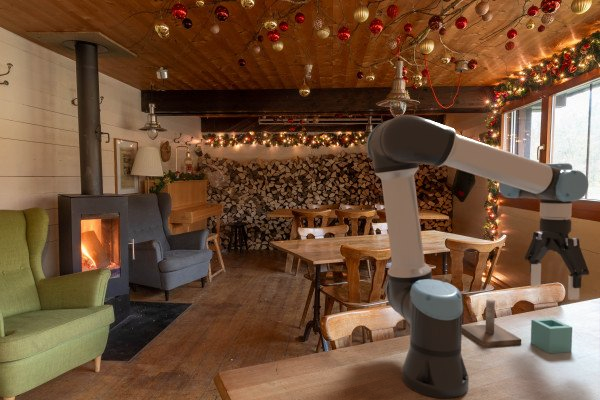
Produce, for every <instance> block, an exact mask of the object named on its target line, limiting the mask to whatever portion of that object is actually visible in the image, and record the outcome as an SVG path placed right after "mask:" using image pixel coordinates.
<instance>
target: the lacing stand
mask: <svg viewBox="0 0 600 400" xmlns="http://www.w3.org/2000/svg"><path fill="white" fill-rule="evenodd" d="M495 307H496V300H494V299H491V298H488V299H487V298H486V300H485V324H476V325H462V333H463V334H464V335H466V336H467V337H469V339H471V340H473V341H474V342H475V343H477V344H479V346H481V347H483V348H489V347H502V346H516V345H517V346H518V345H522V339H521V338H520V337H518V336H517V335H515V334H513V333H511V332H509V331H508V330H506V329H504V328H502V327H501V326H499V325H497V324H495V314H496V313H495V312H496V311H495V310H496V308H495Z"/></svg>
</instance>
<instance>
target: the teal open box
mask: <svg viewBox="0 0 600 400" xmlns="http://www.w3.org/2000/svg"><path fill="white" fill-rule="evenodd" d="M530 321H531V323H530V324H531V325H530V326H531V327H530V343H531V344H532V345H534V346H536V347H537V348H538V349H541V350H542V351H545V352H546V353H548V354H559V353H570V352H572V350H573V349H572V345H573V326H570V325H569V324H567V323H564V322H562V321H560V320H557V319H556V318H553V317H552V318H536V319H531V320H530Z"/></svg>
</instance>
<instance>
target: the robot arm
mask: <svg viewBox="0 0 600 400" xmlns="http://www.w3.org/2000/svg"><path fill="white" fill-rule="evenodd" d="M365 146H366V151H367V155H368V157H369V158H370V160H372V163H373V169H374V170H373V171H374V174H375V175H376V176H377V177H378V178H379V179H380V180H381V188H382V194H383V195H382V196H383V203H384V210H385V218H386V228H387V232H388V233H387V234H388V235H387V236H388V241H389V242H388V243H389V249H390V257H391V266H390V267H389V269H387V282H386V284H385V290H384V291H385V297H386V299H387V302H388V304H389V305H390V307H391V308H392V309H393V310H394V312H396V313H398V315H400V316H401V317H402V318H403V319H404V320H405V321H406V322H408V323H409V325H410V327H409V328H410V330H409V333H410V334H409V335H410V336H409V337H410V338H409V339H410V340H409V342H410V343H409V349H408V352H407V355H406V357H405V359H404V362H403V364H402V370H401V371H402V372H401V373H402V374H401V375H402V381H403V383H404V384H405V385H406V386H407V387H409V388H410V389H411V390H413V391H415V392H417V393H419V394H421V395H425V396H428V397H430V398H431V397H432V398H436V399H437V398H438V399H453V398H458V397H461V396H464V395H465V394H466V393H467V392H468V391H469V381H470V379H469V374H468V371H467V367H466V365H465V362H464V358H463V355H462V335H463V334H462V333H463V332H462V326H463V311H464V305H463V304H464V303H463V297H462V296H463V295H462V292H461V291H460V290H459V288H457V287H456V286H455V285H453V284H451V283H449V282H446V281H445V282H443V281H442V280H439V279H434V278H433V272H432V267H431V266H429V264H427V263H426V262H425V257H424V256H425V255H424V247H423V238H422V230H421V222H420V213H419V204H418V198H417V197H418V196H417V191H416V188H417V187H416V182H415V181H416V180H415V174H416V173H417V171H419V169H420V166H419V165H420V164H422V165H423V164H424V165H427V166H428V165H429V166H432V167H436V168H440V167H442V166H447V167H450V168H452V169H456V170H459V171H462V172H465V173H469V174H472V175H475V176H477V177H481V178H484V179H488V180H490V181H494V182H497V183H498V189H499V192H500V193H501V195H502V197H504V198H506V199H507V198H508V199H512V198H513V199H534V200H539V201H540V202H539V216H540V219H539V231H533V234H532V239H531V242H530V244H529V247H528V248H527V251H526V254H525V255H524V260H526V261H528V262H529V264H530V265H529V267H530V270H529V273H530V286H532V287H533V286H534V287H537V286H538V287H539V286H541V283H542V282H541V281H542V262H541V261H542V259H543V258H544V256H546V254H547V253H548V252H549V251H553V252H557V254H558V255H560V257H561V259H562V260H563V262H564V264H565V266H566V268H567V269H568V271H569V274H568V281H567V283H568V285H567V300H569V301H573V300H574V301H576V300H580V289H581V288H582V277H583V276H589V275H590V270H589V268H588V265H587V263H586V261H585V257H584V254H583V252H582V249H581V246H580V239H579V238H578V237H572V238H571V237H569V234H570V233H571V232H572V220H571V219H570V218H571V217H572V215H573V214H572V209H573V202H576V201H579V200H581V199H583V197H585V195H586V194H587V192H588V191H589V190H588V189H589V180H588V177H587V176H586V174H585V173H584V172H582V171H580V170H577V169H574V168H573V166H572V164H571V163H568V162H557V163H556V162H555V163H554V162H553V163H552V162H551V163H543V162H540V161H537V160H534V159H532V158H528V157H525V156H523V155H519V154H516V153H513V152H510V151H507V150H504V149H501V148H498V147H495V146H492V145H489V144H487V143H483V142H481V141H478V140H475V139H472V138H468V137H466V136H463V135H459V134H457V132H456V130H455V129H454V128H453V127H451V126H448V125H444V124H441V123H439V122H435V121H433V120H431V119H426V118H424V117H420V116H418V115H412V114H411V115H410V114H405V115H404V114H403V115H399V116H395V117H393V118H392V119H388V120H386V121H383V122H381V123H379V124H377V125H376V126H375V127H374V128H372V130H371V131H370V132H369V134H368V136H367V139H366V145H365Z"/></svg>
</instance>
